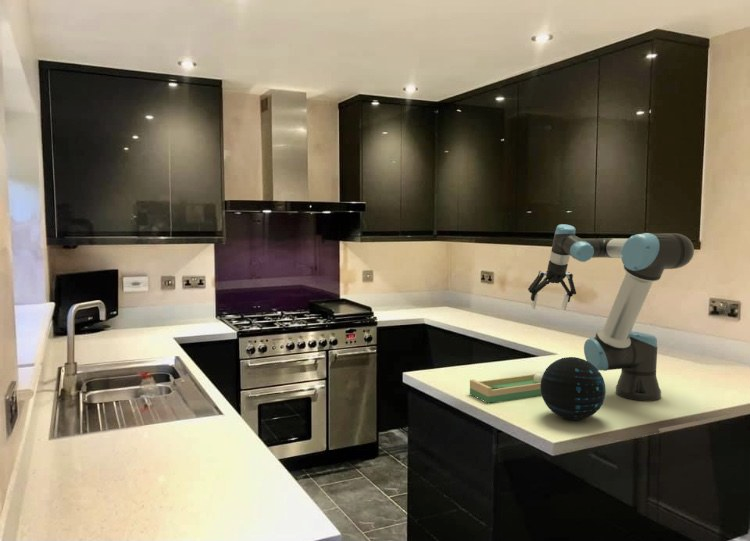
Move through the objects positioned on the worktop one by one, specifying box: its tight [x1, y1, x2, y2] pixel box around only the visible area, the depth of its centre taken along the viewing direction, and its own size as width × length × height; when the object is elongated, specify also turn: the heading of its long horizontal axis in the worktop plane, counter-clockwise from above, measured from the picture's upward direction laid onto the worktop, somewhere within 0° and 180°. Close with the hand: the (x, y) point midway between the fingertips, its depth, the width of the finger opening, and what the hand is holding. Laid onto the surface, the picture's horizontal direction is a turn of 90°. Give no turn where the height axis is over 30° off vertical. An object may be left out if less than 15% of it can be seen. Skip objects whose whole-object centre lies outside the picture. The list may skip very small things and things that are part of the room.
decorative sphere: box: [540, 356, 607, 421], centre depth 184 cm, size 20×20×20 cm
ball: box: [534, 372, 543, 383], centre depth 216 cm, size 4×4×4 cm
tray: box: [469, 373, 542, 404], centre depth 212 cm, size 12×32×6 cm, turn 113°
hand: (548, 307), depth 241 cm, fingers open, 13 cm apart
